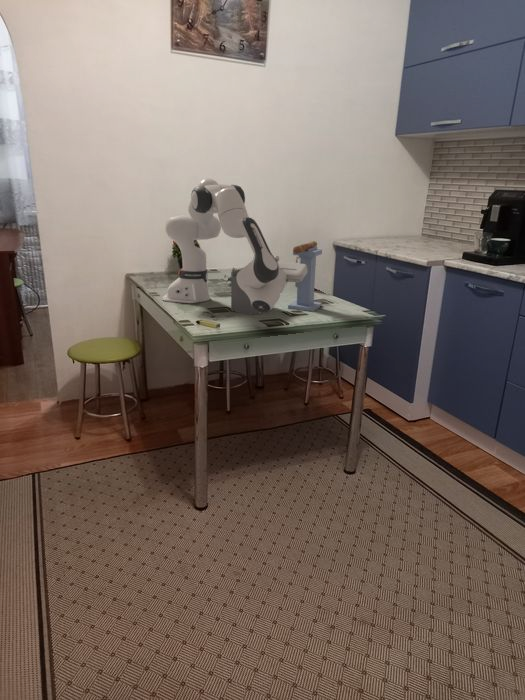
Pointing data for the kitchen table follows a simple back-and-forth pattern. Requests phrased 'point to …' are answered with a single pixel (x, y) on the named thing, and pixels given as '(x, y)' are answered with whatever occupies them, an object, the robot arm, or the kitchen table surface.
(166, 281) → the kitchen table surface
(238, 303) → the tray stand
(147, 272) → the kitchen table surface
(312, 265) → the shelf post
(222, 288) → the kitchen table surface
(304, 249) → the dowel
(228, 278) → the passion flower
